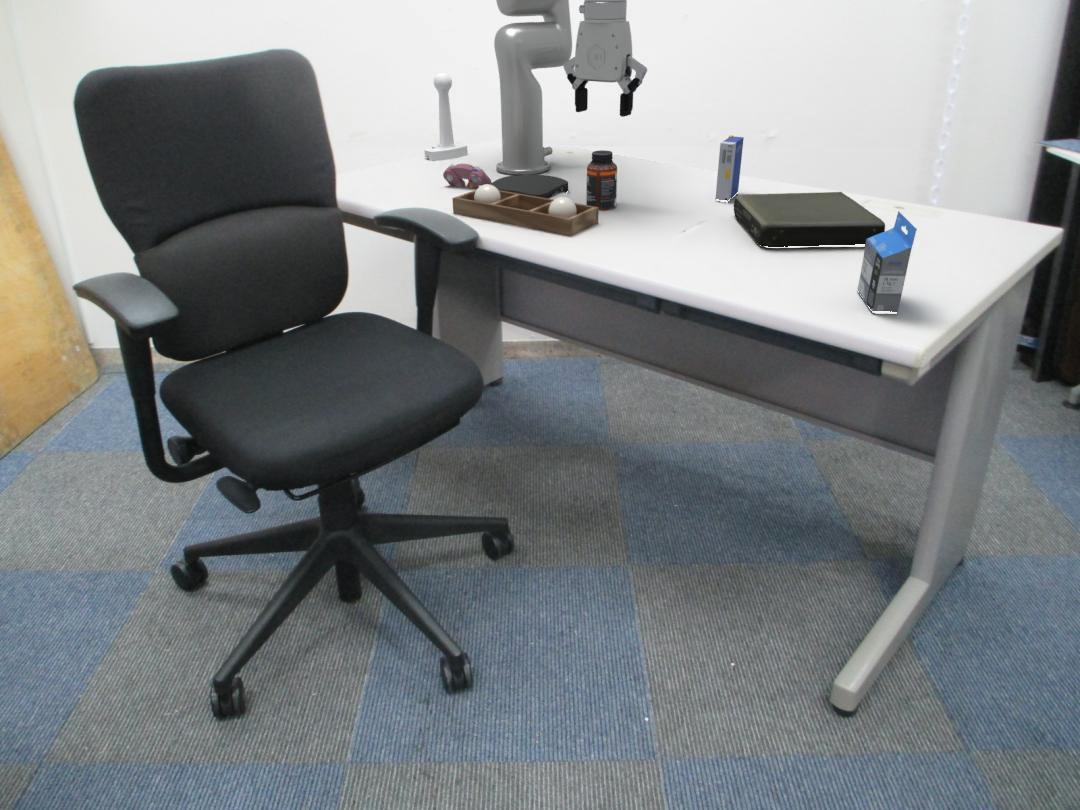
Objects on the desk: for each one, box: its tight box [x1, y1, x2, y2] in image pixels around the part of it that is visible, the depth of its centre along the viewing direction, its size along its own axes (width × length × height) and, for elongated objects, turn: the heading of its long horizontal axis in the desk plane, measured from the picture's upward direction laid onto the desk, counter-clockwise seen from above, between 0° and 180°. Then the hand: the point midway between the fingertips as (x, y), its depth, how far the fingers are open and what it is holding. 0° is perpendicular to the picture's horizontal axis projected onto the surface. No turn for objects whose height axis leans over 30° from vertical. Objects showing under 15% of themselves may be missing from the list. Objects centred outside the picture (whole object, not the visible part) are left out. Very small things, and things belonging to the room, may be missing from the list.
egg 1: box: [474, 184, 501, 204], centre depth 159 cm, size 5×5×5 cm
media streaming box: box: [490, 173, 569, 199], centre depth 175 cm, size 15×15×3 cm
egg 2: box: [548, 196, 577, 218], centre depth 150 cm, size 5×5×5 cm
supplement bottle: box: [586, 150, 618, 212], centre depth 160 cm, size 6×6×11 cm
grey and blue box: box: [857, 210, 918, 313], centre depth 116 cm, size 9×4×12 cm, turn 175°
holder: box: [452, 189, 600, 238], centre depth 156 cm, size 10×27×4 cm, turn 55°
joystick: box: [423, 72, 468, 162], centre depth 204 cm, size 11×8×20 cm
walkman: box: [715, 135, 744, 201], centre depth 167 cm, size 8×3×12 cm, turn 153°
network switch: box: [733, 191, 886, 247], centre depth 148 cm, size 23×23×5 cm
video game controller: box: [442, 163, 493, 189], centre depth 178 cm, size 10×5×7 cm, turn 68°
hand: (603, 113), depth 154 cm, fingers open, 9 cm apart
